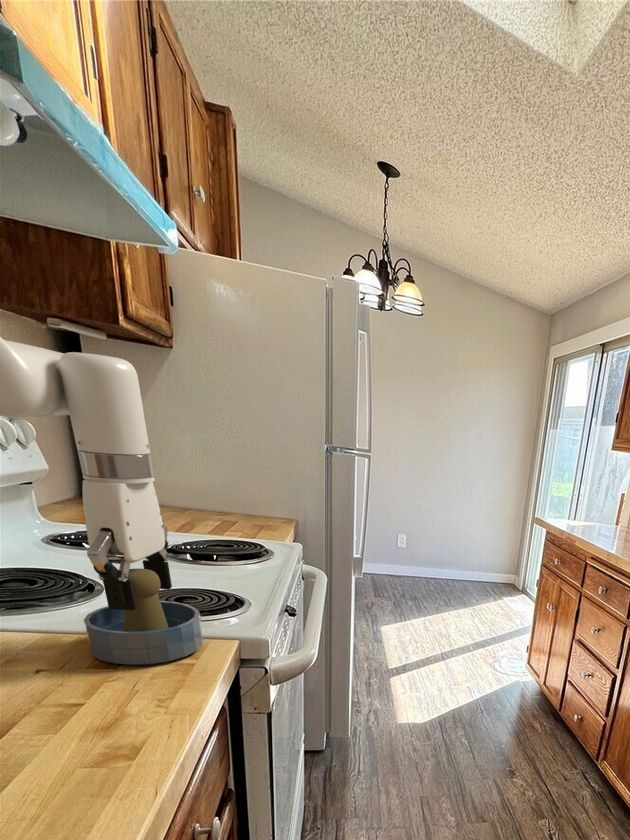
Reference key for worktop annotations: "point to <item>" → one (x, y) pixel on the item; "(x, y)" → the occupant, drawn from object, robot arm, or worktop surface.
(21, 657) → the worktop surface
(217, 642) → the worktop surface
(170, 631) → the bowl
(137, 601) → the olive pawn
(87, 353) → the robot arm
